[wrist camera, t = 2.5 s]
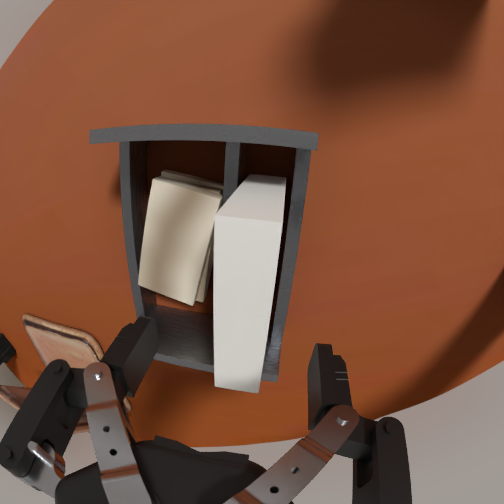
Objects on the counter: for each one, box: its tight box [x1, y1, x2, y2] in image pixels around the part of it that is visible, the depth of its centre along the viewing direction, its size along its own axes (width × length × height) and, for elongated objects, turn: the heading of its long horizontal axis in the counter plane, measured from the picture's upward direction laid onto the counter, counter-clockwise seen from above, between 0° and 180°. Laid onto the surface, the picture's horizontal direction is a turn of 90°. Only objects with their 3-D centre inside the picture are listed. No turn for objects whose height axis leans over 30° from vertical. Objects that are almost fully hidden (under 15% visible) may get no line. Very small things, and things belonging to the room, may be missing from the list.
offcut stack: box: [138, 169, 224, 306], centre depth 24 cm, size 6×11×4 cm, turn 166°
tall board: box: [213, 174, 286, 393], centre depth 20 cm, size 3×12×12 cm, turn 176°
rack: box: [90, 124, 319, 382], centre depth 22 cm, size 15×20×7 cm
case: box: [0, 314, 132, 434], centre depth 33 cm, size 20×21×16 cm
